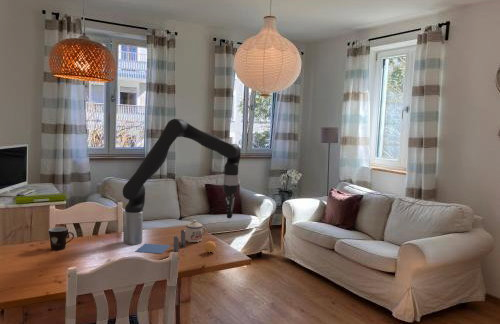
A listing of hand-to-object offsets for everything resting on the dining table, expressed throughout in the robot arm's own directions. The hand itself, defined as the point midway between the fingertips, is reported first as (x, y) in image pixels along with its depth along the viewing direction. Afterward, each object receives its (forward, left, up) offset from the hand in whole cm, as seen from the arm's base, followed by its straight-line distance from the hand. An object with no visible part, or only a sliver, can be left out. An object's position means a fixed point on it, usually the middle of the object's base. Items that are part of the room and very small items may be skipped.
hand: (229, 217), depth 202 cm
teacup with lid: (-22, +20, -19) cm, 35 cm away
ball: (-10, 0, -16) cm, 19 cm away
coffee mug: (-84, -12, -19) cm, 87 cm away
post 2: (-26, +6, -19) cm, 32 cm away
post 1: (-26, -6, -19) cm, 33 cm away
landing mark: (-40, 0, -19) cm, 44 cm away
